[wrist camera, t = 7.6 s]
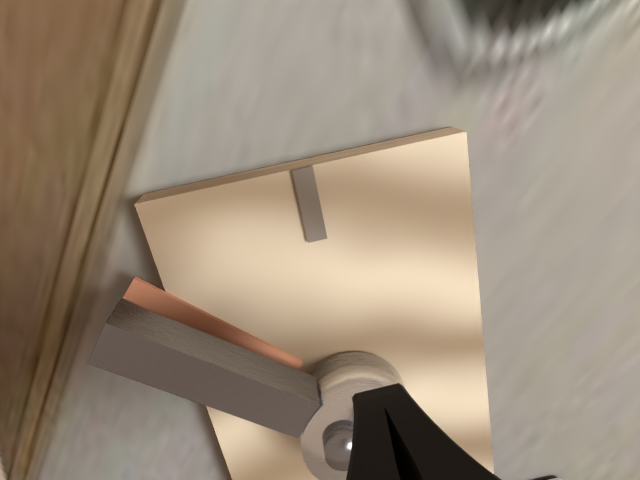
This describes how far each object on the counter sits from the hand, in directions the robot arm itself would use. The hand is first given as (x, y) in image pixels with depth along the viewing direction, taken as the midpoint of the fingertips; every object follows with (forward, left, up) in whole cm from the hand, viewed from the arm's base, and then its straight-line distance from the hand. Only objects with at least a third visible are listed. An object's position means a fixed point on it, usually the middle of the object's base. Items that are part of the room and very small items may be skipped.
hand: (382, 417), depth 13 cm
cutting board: (-3, +1, -9) cm, 10 cm away
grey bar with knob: (-3, +4, -8) cm, 9 cm away
